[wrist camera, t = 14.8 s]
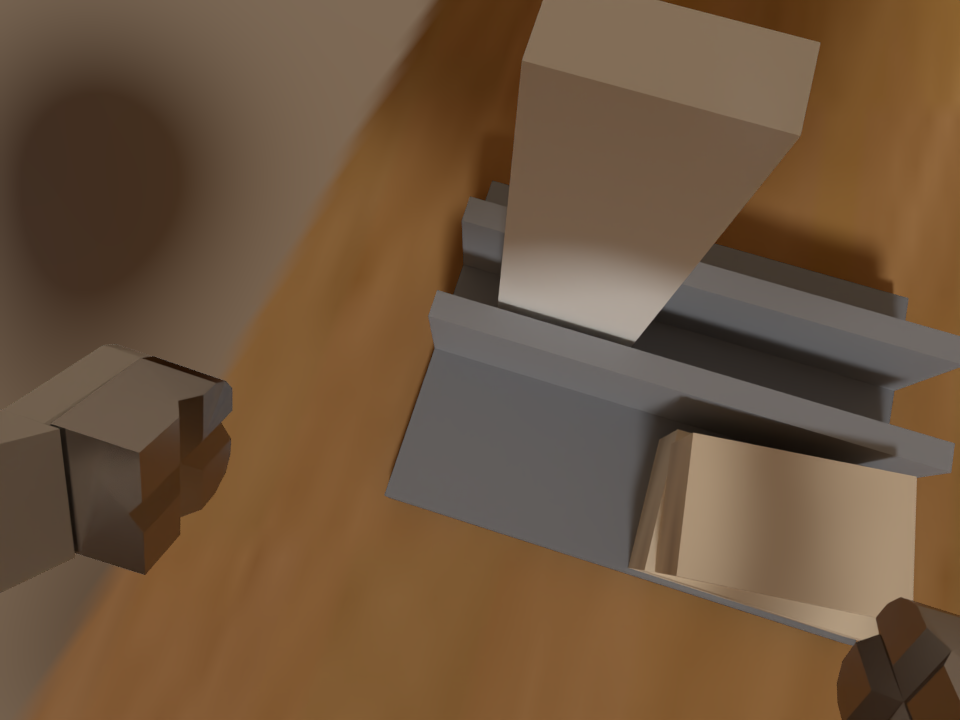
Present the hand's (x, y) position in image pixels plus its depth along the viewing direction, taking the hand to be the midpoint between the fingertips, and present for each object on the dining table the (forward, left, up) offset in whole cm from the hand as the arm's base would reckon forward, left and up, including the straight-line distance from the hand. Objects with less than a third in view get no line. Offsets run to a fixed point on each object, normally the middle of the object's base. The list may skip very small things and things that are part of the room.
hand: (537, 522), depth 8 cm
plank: (-4, -8, -18) cm, 20 cm away
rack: (-7, -4, -19) cm, 21 cm away
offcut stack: (-9, +2, -18) cm, 20 cm away
